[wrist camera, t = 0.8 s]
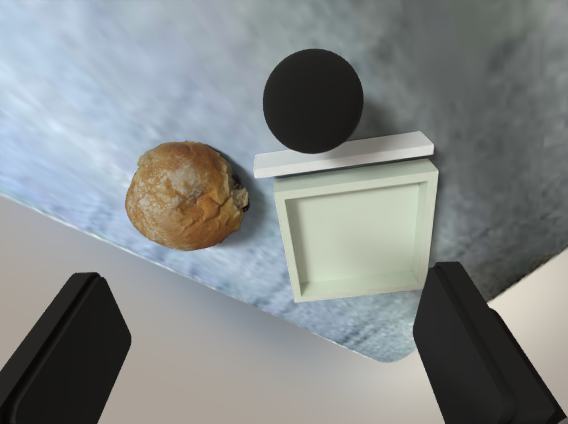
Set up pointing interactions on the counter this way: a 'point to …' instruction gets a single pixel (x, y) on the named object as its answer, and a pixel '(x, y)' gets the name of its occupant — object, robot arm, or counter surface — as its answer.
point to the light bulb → (313, 101)
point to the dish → (357, 229)
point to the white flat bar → (344, 155)
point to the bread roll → (185, 196)
